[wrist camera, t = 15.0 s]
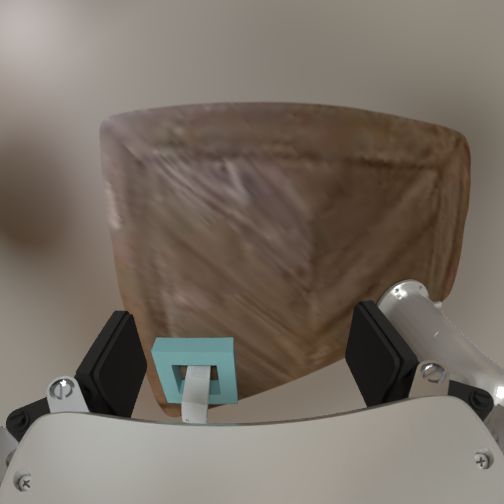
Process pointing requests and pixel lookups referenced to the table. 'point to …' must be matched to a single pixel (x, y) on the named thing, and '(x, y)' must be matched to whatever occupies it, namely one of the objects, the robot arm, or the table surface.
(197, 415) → the skincare box
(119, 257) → the table surface
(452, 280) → the table surface
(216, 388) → the hollow square block
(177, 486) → the robot arm
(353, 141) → the table surface
